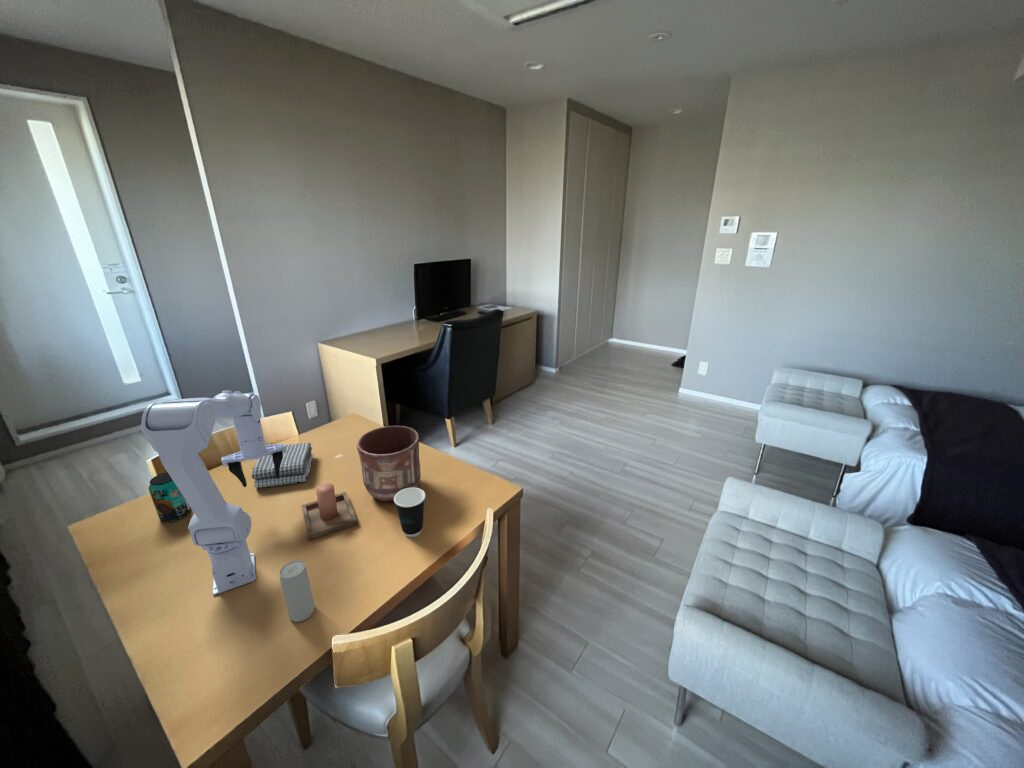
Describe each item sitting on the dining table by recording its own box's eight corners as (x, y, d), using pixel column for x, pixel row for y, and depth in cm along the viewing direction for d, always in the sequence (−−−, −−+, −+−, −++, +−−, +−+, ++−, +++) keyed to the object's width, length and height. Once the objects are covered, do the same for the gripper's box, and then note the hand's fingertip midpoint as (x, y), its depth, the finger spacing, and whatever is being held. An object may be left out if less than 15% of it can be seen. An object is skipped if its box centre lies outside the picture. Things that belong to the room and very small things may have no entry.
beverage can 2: (284, 615, 84) (273, 571, 80) (307, 599, 88) (297, 556, 84) (297, 627, 82) (287, 582, 77) (320, 610, 86) (310, 566, 81)
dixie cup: (422, 517, 113) (420, 484, 109) (431, 534, 107) (429, 500, 103) (394, 526, 110) (390, 492, 106) (402, 545, 103) (398, 510, 99)
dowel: (339, 516, 112) (335, 489, 109) (322, 522, 110) (318, 495, 106) (335, 507, 115) (331, 481, 112) (318, 513, 113) (314, 486, 110)
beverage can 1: (154, 517, 111) (140, 480, 107) (183, 503, 117) (171, 468, 113) (168, 526, 108) (154, 488, 104) (196, 511, 114) (185, 475, 110)
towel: (253, 492, 123) (248, 470, 120) (266, 461, 139) (261, 441, 136) (308, 483, 128) (304, 462, 125) (314, 454, 144) (311, 435, 141)
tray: (357, 524, 110) (356, 519, 110) (309, 540, 104) (308, 535, 104) (346, 497, 121) (345, 491, 121) (302, 510, 115) (301, 505, 115)
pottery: (355, 486, 126) (348, 435, 120) (408, 467, 136) (404, 419, 130) (375, 517, 113) (368, 462, 107) (432, 494, 123) (429, 442, 117)
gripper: (281, 424, 112) (289, 466, 117) (217, 437, 105) (230, 481, 110) (283, 434, 107) (292, 478, 112) (216, 449, 100) (229, 495, 105)
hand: (261, 480), depth 111 cm, fingers open, 7 cm apart
